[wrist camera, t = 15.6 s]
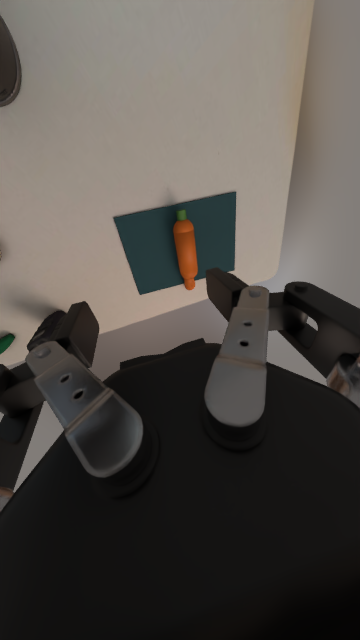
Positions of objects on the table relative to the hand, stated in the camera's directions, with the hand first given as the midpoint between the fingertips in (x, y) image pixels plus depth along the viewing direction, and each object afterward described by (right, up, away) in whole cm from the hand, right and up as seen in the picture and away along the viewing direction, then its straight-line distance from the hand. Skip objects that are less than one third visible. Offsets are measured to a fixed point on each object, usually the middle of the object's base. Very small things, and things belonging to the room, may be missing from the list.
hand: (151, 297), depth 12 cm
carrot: (+3, +14, +26) cm, 30 cm away
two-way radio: (-26, -1, +29) cm, 38 cm away
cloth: (+3, +14, +26) cm, 30 cm away
